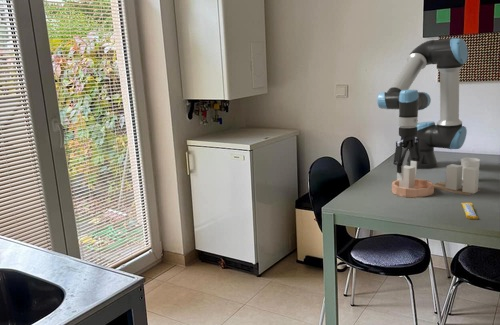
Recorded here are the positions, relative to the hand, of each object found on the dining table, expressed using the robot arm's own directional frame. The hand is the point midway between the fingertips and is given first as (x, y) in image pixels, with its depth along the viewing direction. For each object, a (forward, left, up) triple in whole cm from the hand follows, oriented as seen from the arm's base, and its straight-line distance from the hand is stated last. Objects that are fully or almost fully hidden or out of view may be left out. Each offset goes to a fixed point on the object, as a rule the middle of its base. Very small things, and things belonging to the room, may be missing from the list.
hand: (406, 177), depth 199 cm
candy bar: (+8, +32, -7) cm, 34 cm away
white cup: (-33, +11, -6) cm, 35 cm away
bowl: (0, +3, -6) cm, 7 cm away
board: (-15, +13, -6) cm, 21 cm away
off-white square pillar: (-15, +20, -5) cm, 26 cm away
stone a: (0, 0, -5) cm, 5 cm away
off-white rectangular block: (-15, +13, -5) cm, 21 cm away
